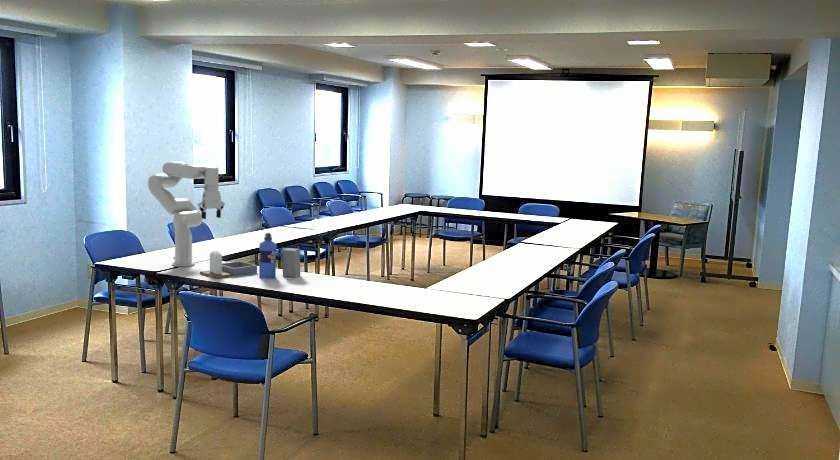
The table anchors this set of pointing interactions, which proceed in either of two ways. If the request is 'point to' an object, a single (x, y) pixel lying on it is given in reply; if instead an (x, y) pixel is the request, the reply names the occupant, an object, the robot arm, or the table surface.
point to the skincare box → (291, 262)
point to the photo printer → (216, 262)
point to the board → (213, 275)
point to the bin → (239, 268)
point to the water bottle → (267, 258)
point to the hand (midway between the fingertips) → (211, 218)
